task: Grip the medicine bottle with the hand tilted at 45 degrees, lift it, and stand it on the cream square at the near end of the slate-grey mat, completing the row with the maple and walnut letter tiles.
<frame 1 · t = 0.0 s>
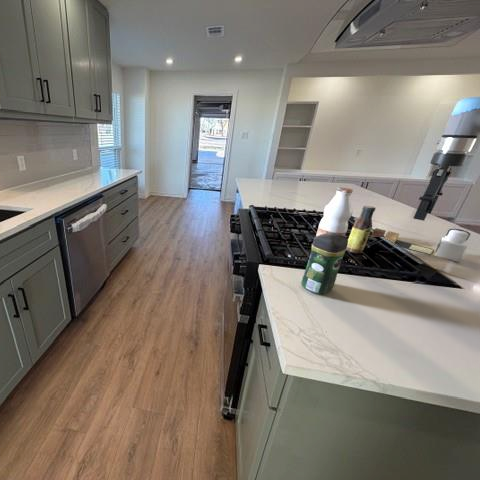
hand: (422, 216, 89), 21 cm above the countertop, tool pointing down, fingers open, 13 cm apart
word mat: (398, 244, 118), on the countertop
maple letter tile: (389, 241, 121), resting on word mat
medicine bottle: (445, 257, 107), on the countertop
coffee jar: (315, 287, 83), on the countertop
sauce bottle: (353, 251, 110), on the countertop
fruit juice: (323, 256, 105), on the countertop
walnut letter tile: (376, 237, 124), resting on word mat
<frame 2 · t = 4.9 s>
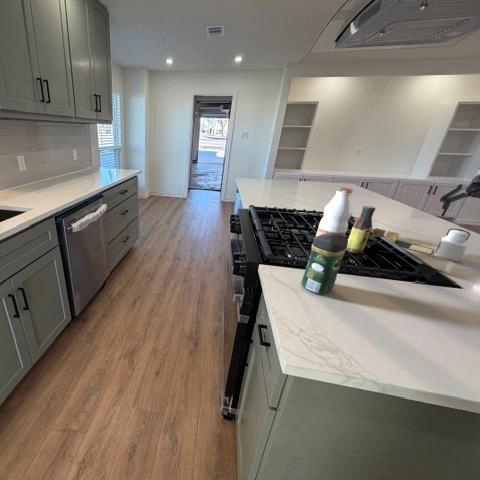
hand: (465, 218, 107), 15 cm above the countertop, tool tilted 45°, fingers open, 13 cm apart
nothing on the countertop moved.
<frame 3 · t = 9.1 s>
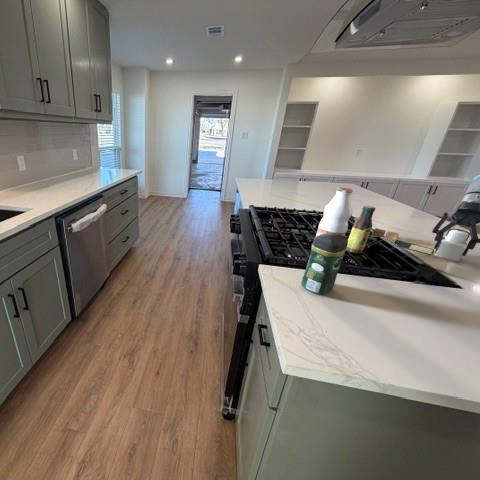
hand: (449, 250, 104), 4 cm above the countertop, tool tilted 45°, fingers closed on medicine bottle, 7 cm apart
medicine bottle: (445, 257, 107), on the countertop, touching gripper
everything else where it was.
when the fingers open (4 cm above the countertop, at t = 16.3 s): medicine bottle stays where it is, resting on word mat.
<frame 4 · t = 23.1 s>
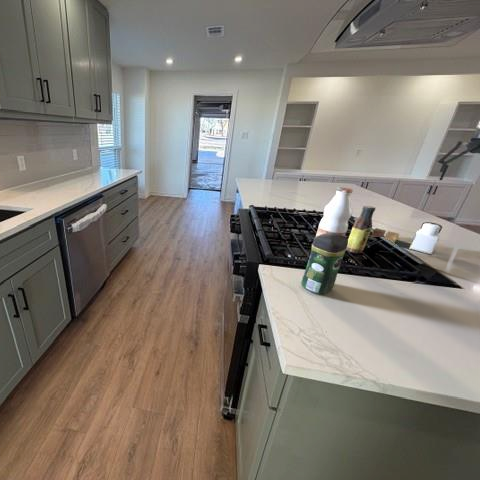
hand: (462, 182, 110), 29 cm above the countertop, tool pointing down, fingers open, 13 cm apart
medicine bottle: (420, 249, 113), resting on word mat
everything else where it was.
at the end: medicine bottle 0.1 cm from the target spot, resting on word mat; medicine bottle tilted 0°; maple letter tile moved 0.0 cm from its start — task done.
